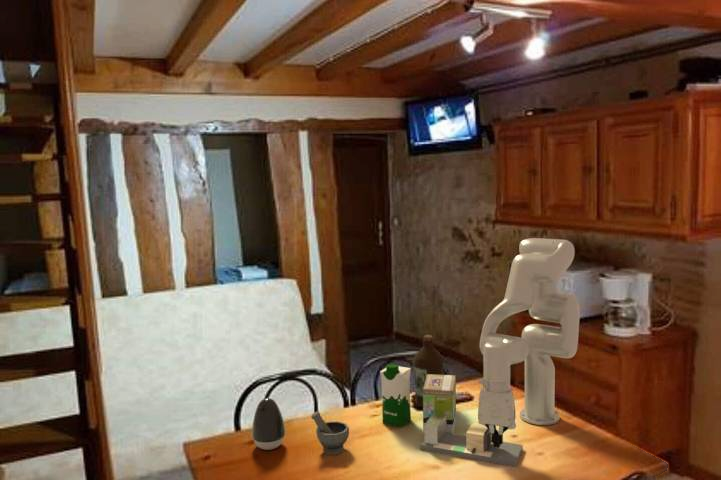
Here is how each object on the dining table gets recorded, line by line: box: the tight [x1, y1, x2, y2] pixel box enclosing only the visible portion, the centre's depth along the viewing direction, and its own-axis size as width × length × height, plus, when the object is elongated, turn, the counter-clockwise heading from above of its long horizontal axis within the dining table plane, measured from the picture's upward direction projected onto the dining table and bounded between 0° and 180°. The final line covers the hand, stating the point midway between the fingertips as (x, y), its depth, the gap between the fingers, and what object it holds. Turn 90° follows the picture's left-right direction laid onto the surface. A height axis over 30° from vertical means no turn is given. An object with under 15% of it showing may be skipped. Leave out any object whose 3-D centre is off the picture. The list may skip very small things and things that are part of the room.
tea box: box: [422, 374, 457, 434], centre depth 193 cm, size 15×10×15 cm, turn 168°
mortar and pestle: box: [310, 411, 350, 455], centre depth 178 cm, size 11×9×12 cm
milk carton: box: [379, 363, 412, 429], centre depth 196 cm, size 9×9×20 cm
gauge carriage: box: [465, 422, 491, 454], centre depth 173 cm, size 10×6×5 cm, turn 155°
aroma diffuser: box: [251, 397, 286, 451], centre depth 182 cm, size 10×10×15 cm
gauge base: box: [420, 432, 524, 468], centre depth 176 cm, size 11×28×2 cm, turn 65°
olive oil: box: [412, 334, 444, 407], centre depth 210 cm, size 11×11×25 cm
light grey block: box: [423, 414, 447, 446], centre depth 180 cm, size 9×4×6 cm, turn 155°
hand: (497, 445), depth 172 cm, fingers closed
